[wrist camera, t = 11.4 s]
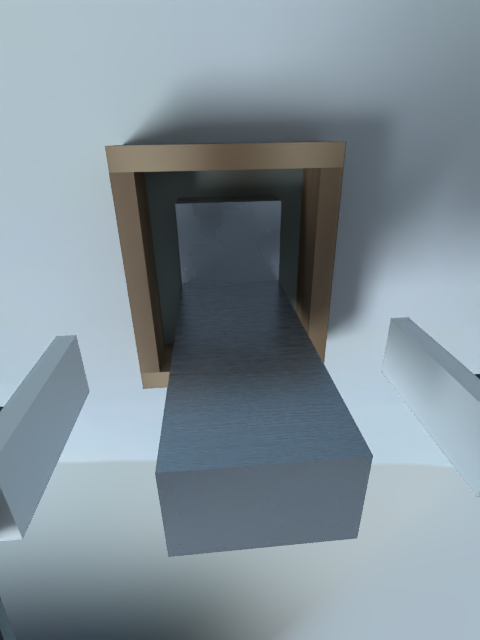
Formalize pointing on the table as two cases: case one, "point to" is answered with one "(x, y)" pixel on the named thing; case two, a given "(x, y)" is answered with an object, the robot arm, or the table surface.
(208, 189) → the wooden frame
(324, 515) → the bracket
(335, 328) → the table surface
